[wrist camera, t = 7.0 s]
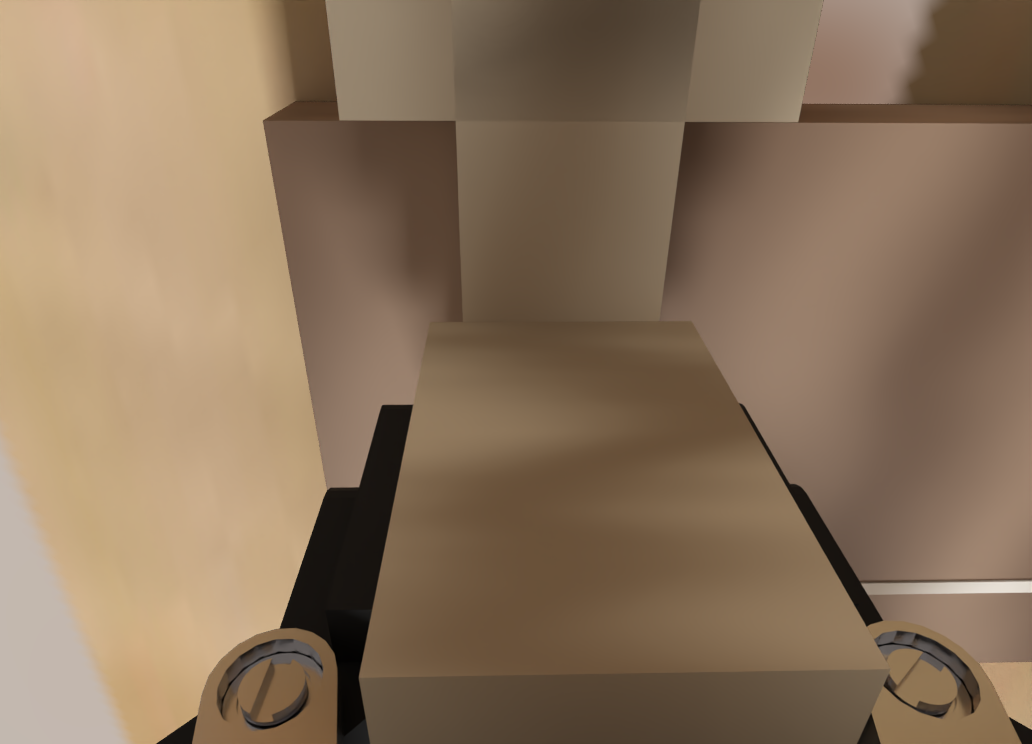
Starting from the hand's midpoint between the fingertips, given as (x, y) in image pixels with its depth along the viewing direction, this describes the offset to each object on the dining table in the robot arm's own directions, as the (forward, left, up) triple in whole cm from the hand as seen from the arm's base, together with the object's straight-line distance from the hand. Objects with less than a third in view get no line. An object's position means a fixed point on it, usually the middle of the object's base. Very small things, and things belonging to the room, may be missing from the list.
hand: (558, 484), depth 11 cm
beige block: (0, -1, -5) cm, 5 cm away
